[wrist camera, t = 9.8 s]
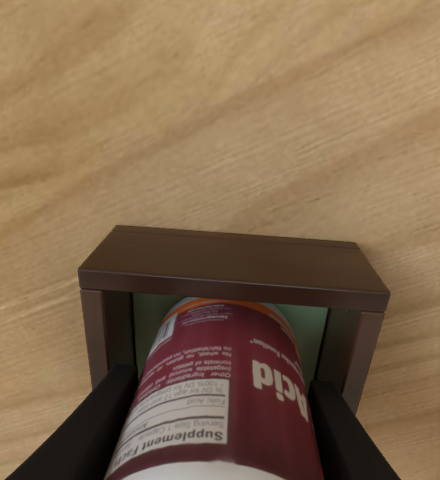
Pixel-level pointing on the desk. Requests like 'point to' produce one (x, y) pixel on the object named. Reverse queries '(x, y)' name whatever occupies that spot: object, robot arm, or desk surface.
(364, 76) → the desk surface
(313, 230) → the desk surface
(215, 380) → the pill bottle
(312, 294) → the dark brown square box
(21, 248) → the desk surface
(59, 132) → the desk surface
